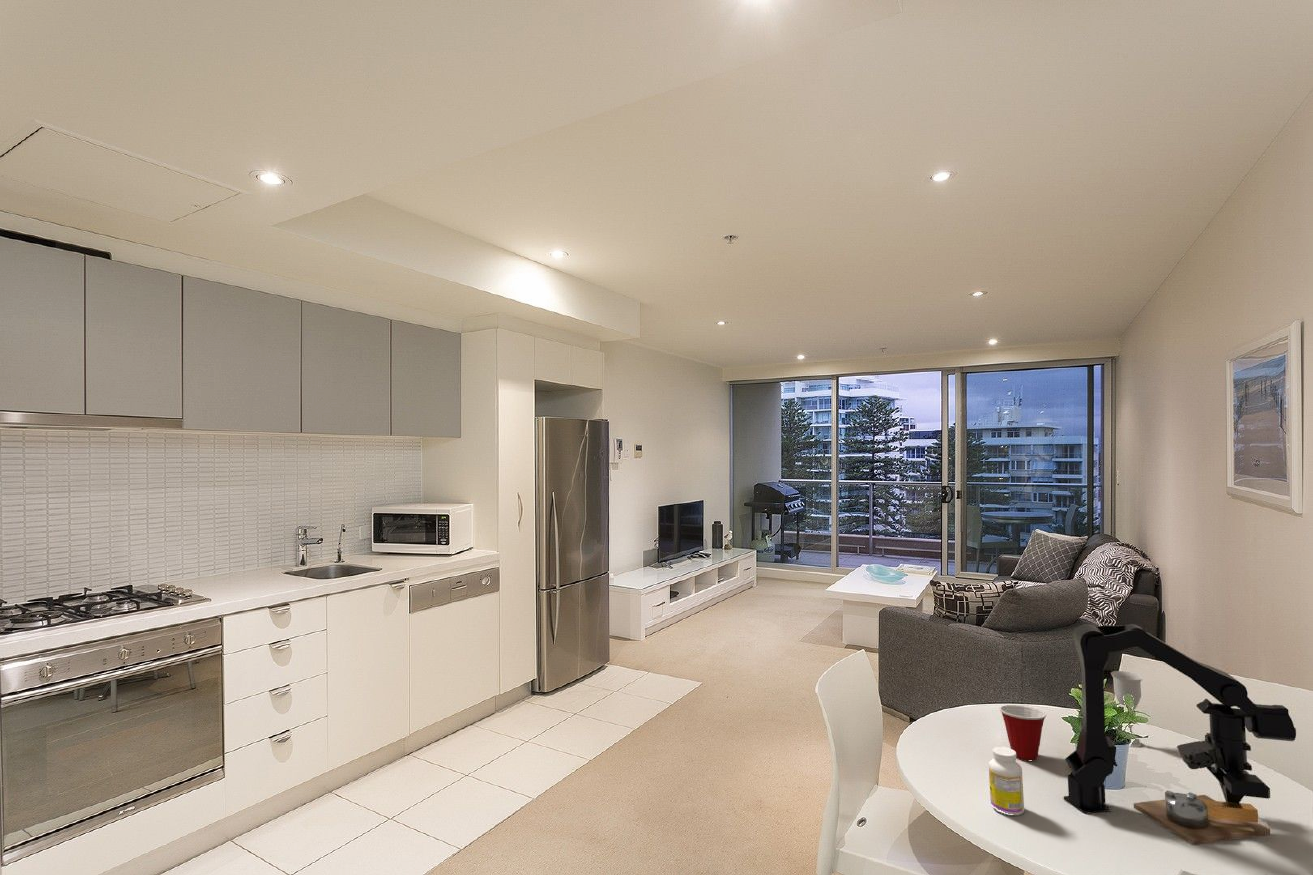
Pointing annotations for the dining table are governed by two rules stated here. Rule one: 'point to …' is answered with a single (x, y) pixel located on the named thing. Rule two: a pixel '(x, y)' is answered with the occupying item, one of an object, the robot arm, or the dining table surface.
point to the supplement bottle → (1006, 781)
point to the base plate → (1212, 833)
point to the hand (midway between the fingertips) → (1231, 808)
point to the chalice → (1128, 691)
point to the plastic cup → (1023, 729)
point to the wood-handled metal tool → (1205, 810)
